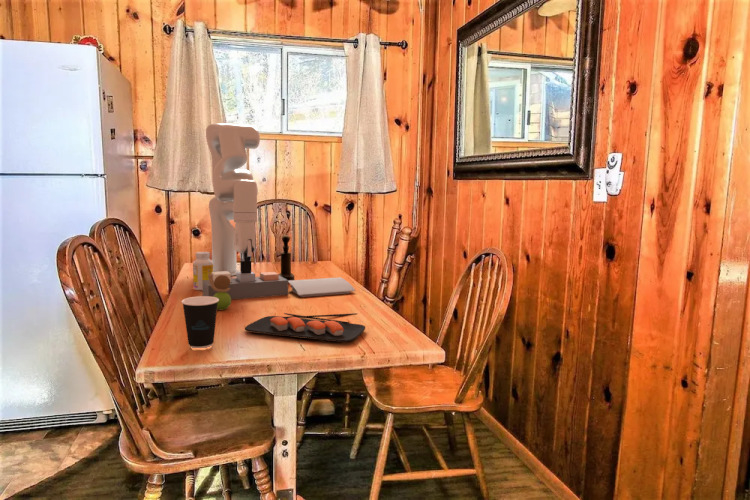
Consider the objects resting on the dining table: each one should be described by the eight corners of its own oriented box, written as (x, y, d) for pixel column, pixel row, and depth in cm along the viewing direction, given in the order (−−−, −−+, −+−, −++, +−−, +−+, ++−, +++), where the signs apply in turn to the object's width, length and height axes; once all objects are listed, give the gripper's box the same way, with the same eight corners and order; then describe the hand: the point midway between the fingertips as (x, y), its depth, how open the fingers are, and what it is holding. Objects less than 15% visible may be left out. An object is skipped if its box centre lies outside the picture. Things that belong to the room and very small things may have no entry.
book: (281, 290, 179) (281, 280, 178) (341, 286, 189) (341, 276, 189) (294, 300, 165) (295, 288, 165) (358, 294, 176) (358, 283, 175)
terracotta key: (260, 284, 173) (260, 272, 173) (274, 283, 175) (274, 271, 175) (264, 286, 169) (264, 275, 168) (278, 285, 171) (278, 274, 171)
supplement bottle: (216, 287, 179) (216, 251, 178) (208, 291, 173) (208, 254, 171) (198, 286, 180) (197, 251, 178) (190, 290, 173) (189, 253, 172)
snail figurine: (209, 308, 150) (208, 268, 148) (231, 307, 152) (231, 267, 150) (207, 312, 145) (207, 271, 143) (231, 311, 146) (230, 271, 145)
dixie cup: (205, 339, 120) (205, 294, 118) (226, 346, 115) (226, 299, 114) (175, 347, 113) (174, 300, 112) (196, 355, 109) (195, 305, 107)
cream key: (211, 284, 165) (211, 272, 165) (227, 282, 168) (227, 271, 167) (215, 286, 161) (214, 274, 160) (230, 285, 163) (230, 273, 163)
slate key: (236, 283, 169) (236, 272, 169) (251, 282, 172) (251, 271, 171) (240, 286, 165) (240, 274, 164) (255, 285, 167) (255, 273, 167)
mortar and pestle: (282, 279, 198) (282, 233, 196) (297, 280, 196) (297, 234, 194) (274, 282, 192) (273, 235, 190) (289, 283, 190) (289, 236, 187)
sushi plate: (239, 336, 125) (239, 321, 124) (291, 309, 154) (291, 296, 153) (351, 349, 117) (351, 333, 117) (383, 317, 146) (383, 304, 146)
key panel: (202, 295, 167) (202, 280, 166) (278, 289, 179) (278, 275, 179) (208, 301, 158) (208, 285, 157) (288, 294, 171) (288, 280, 170)
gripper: (228, 216, 170) (229, 270, 172) (239, 219, 157) (240, 277, 159) (250, 216, 174) (251, 269, 176) (263, 219, 161) (263, 275, 163)
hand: (245, 272), depth 167 cm, fingers closed
